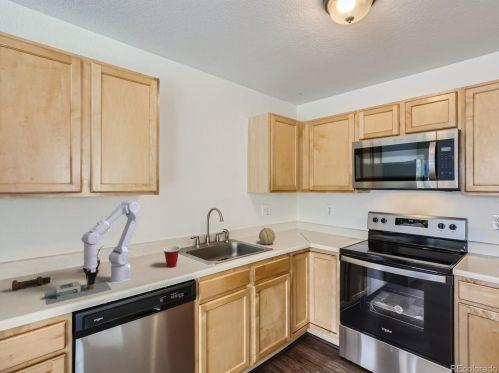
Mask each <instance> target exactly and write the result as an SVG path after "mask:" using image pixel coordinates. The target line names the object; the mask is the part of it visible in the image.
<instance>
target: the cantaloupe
mask: <svg viewBox="0 0 499 373" xmlns="http://www.w3.org/2000/svg"><path fill="white" fill-rule="evenodd" d="M258 239H259V242H261V243H262V244H263V245H271V244H273V243H274V242H275V240H276V233H275V231H274V230H273V229H272V228H269V227H263V228H262V229H261V230H260V231H259V234H258Z"/></svg>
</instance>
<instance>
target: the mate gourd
mask: <svg viewBox="0 0 499 373" xmlns="http://www.w3.org/2000/svg"><path fill="white" fill-rule="evenodd" d="M104 246H105V245H104V244H103V245H102V246H101V247H99V249H97V264H98V265H97V267H96V270H99V268H100V265H101V259H100V257H98V256H99V253H100V251H101V249H102V248H103V247H104Z"/></svg>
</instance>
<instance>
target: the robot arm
mask: <svg viewBox="0 0 499 373" xmlns="http://www.w3.org/2000/svg"><path fill="white" fill-rule="evenodd" d="M140 209H141V207H140V205H139V203H137V202H136V201H127V200H126V201H125V200H124V201H122V202H121V203H119V204H118V205H117V207H116V208H115V210H113V211H112V213H110V214H109V215H108V217H107V218H105V219H104V220H100V221H98V222H97V223H96V225H95V226H93V227H92V228H91V229H89V231H87V232H85V233H84V234H83V235H82V237H81V242H82V243H83V264H82V265H81V266H80V268H81V269H82V270H83V272H84V276H85V280H86V281H87V277H88V283H89V285H94V283H95V282H96V278H97V276H98V274H99V271H100V270H99V269H98V270H96V267H97V265H98V264H97V257H98V256H97V254H98V243H99V242H100V240H101V237H102V236H103V235H104V234H105V233H106V232H107V231H108V230H109V229H110V227H111V224H113V222H115V221H116V220H117V219H118V218H119V217H121V216H122V215H125V217H126V218H127V221H126V223H125V224H124V228H123V231H122V233H121V235H120V238H119V241H118V243H117V246H115V247H114V248H112V251H111V252H110V254H108V255H109V256H108V261H109V262H110V268H111V269H110V274H111V275H110V278H109V279H108V280H109V282H110V283H111V284H118V283H121V282H126V281H131V280H132V278H131V276H132V274H131V270H132V269H131V267H132V266H131V264H130V263H129V262H128V261H129V254H130V250H129V249H128V248H129V246H130V243H131V241H132V238H133V235H134V232H135V230H136V227H137V224H138V222H139V219H140ZM87 269H90V271H87Z"/></svg>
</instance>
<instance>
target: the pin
mask: <svg viewBox="0 0 499 373" xmlns="http://www.w3.org/2000/svg"><path fill="white" fill-rule="evenodd" d="M87 271H90V269H87ZM86 284H87V290H91V289H94V285H89V283H88V277H87V280H86Z"/></svg>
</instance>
